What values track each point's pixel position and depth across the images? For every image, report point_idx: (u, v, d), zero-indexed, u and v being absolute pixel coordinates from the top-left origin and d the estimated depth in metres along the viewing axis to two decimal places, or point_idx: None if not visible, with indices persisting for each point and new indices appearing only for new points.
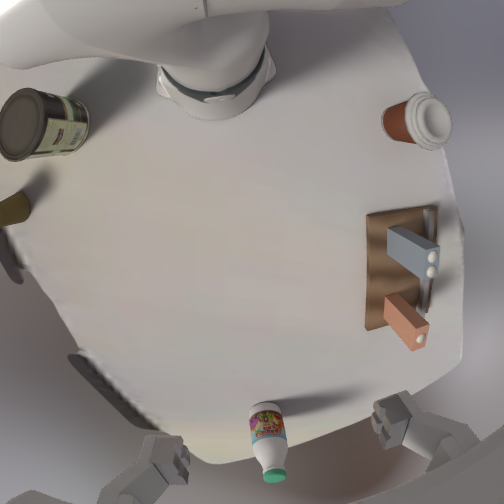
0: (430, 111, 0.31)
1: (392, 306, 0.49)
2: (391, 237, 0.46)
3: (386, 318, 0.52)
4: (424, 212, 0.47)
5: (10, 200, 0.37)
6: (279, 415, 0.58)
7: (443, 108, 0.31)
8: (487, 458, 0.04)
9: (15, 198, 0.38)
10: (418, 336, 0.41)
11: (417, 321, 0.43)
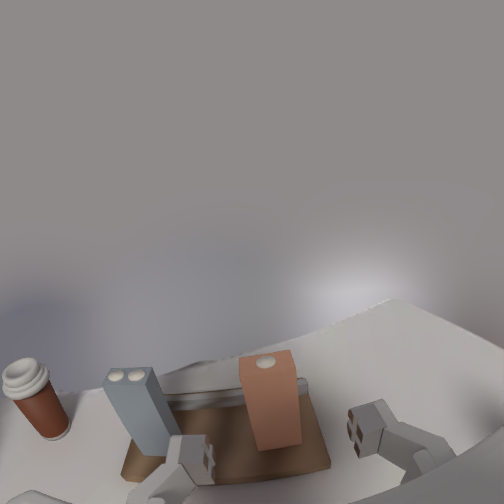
0: (11, 372, 0.27)
1: (258, 434, 0.26)
2: (148, 448, 0.26)
3: (296, 438, 0.26)
4: None
5: None
6: None
7: (17, 362, 0.30)
8: (487, 458, 0.04)
9: None
10: (259, 367, 0.25)
11: None
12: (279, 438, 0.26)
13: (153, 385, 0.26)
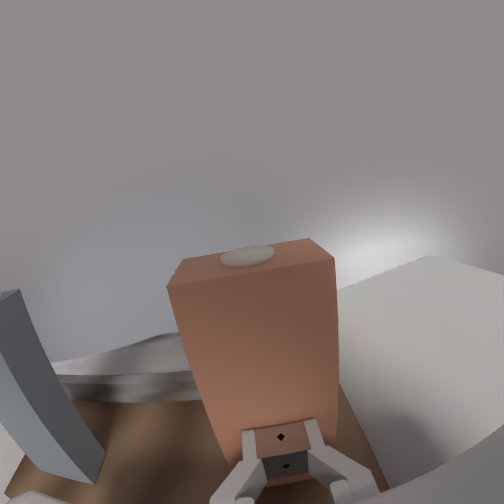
0: None
1: (236, 460, 0.10)
2: (39, 459, 0.10)
3: None
4: None
5: None
6: None
7: None
8: (487, 458, 0.04)
9: None
10: (227, 265, 0.09)
11: None
12: None
13: (14, 326, 0.10)
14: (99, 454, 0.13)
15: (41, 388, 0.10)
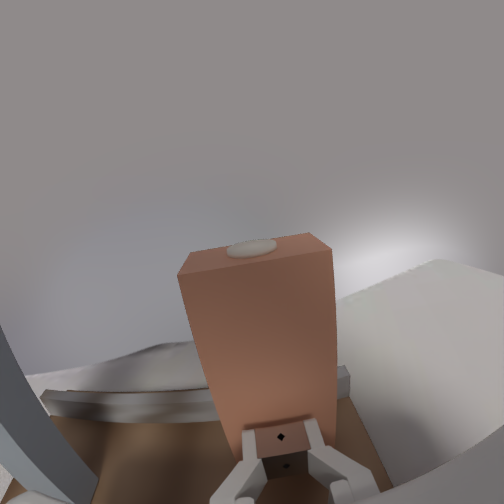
0: None
1: (240, 446, 0.11)
2: (27, 484, 0.08)
3: None
4: (52, 411, 0.17)
5: None
6: None
7: None
8: (487, 458, 0.04)
9: None
10: (233, 256, 0.10)
11: None
12: None
13: None
14: (92, 481, 0.11)
15: (22, 417, 0.08)
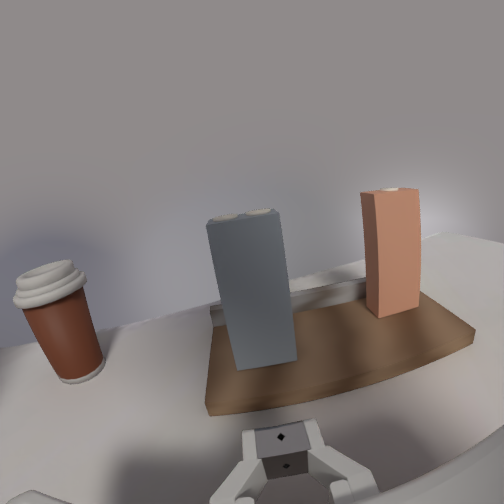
0: (31, 276, 0.23)
1: (383, 287, 0.25)
2: (249, 352, 0.22)
3: (414, 295, 0.26)
4: (218, 322, 0.31)
5: None
6: None
7: (40, 267, 0.25)
8: (487, 458, 0.04)
9: None
10: (386, 190, 0.24)
11: (369, 212, 0.25)
12: (401, 294, 0.26)
13: None
14: None
15: None
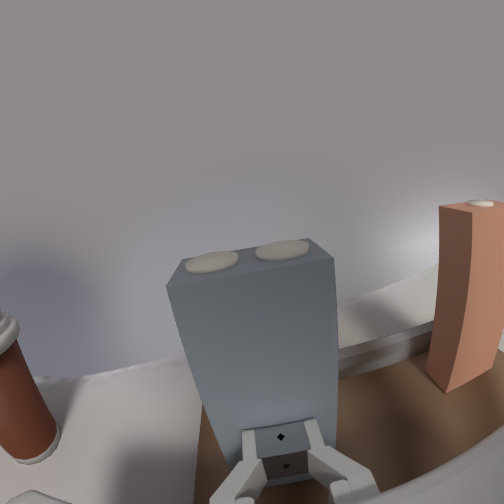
0: None
1: (461, 354, 0.13)
2: None
3: (491, 356, 0.14)
4: None
5: None
6: None
7: None
8: (487, 458, 0.04)
9: None
10: (481, 206, 0.12)
11: (455, 240, 0.13)
12: (478, 358, 0.14)
13: None
14: None
15: None
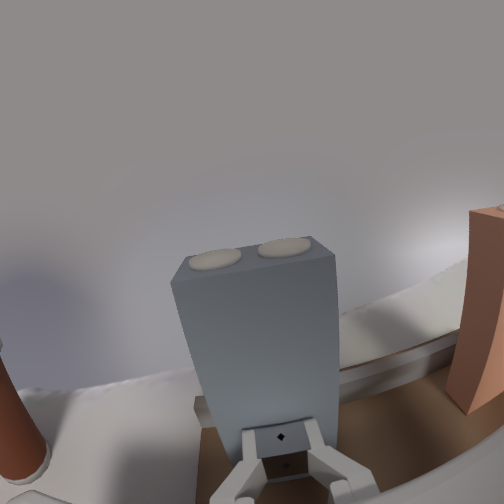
0: None
1: (486, 374, 0.11)
2: None
3: None
4: (209, 422, 0.16)
5: None
6: None
7: None
8: (487, 458, 0.04)
9: None
10: None
11: (488, 250, 0.10)
12: (501, 376, 0.11)
13: None
14: None
15: None
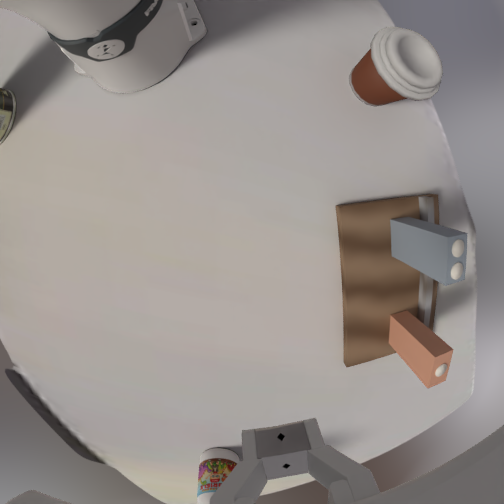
0: (406, 45, 0.20)
1: (400, 327, 0.35)
2: (396, 231, 0.33)
3: (392, 344, 0.38)
4: (420, 201, 0.34)
5: None
6: (234, 465, 0.41)
7: (425, 43, 0.20)
8: (487, 458, 0.04)
9: None
10: (438, 367, 0.27)
11: (436, 346, 0.28)
12: (395, 336, 0.37)
13: None
14: None
15: None
